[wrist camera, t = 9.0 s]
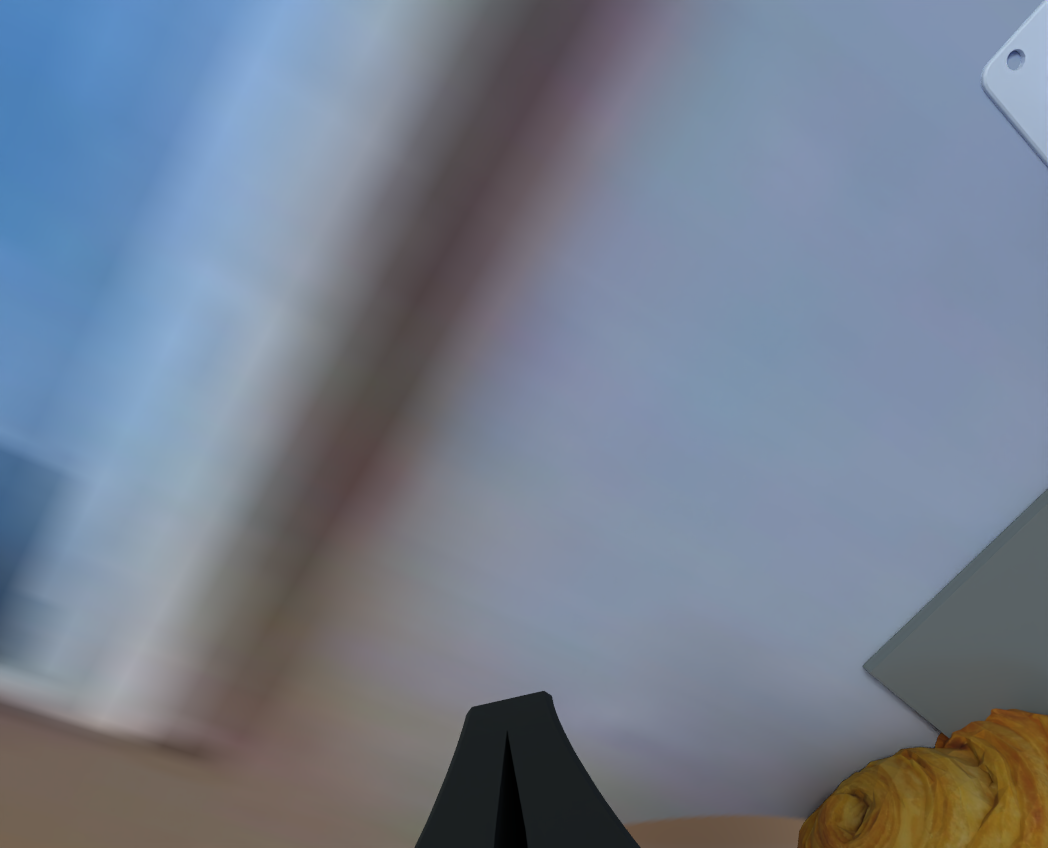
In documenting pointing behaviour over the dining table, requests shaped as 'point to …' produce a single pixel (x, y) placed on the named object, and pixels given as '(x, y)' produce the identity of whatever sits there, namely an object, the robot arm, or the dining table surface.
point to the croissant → (946, 792)
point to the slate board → (979, 635)
